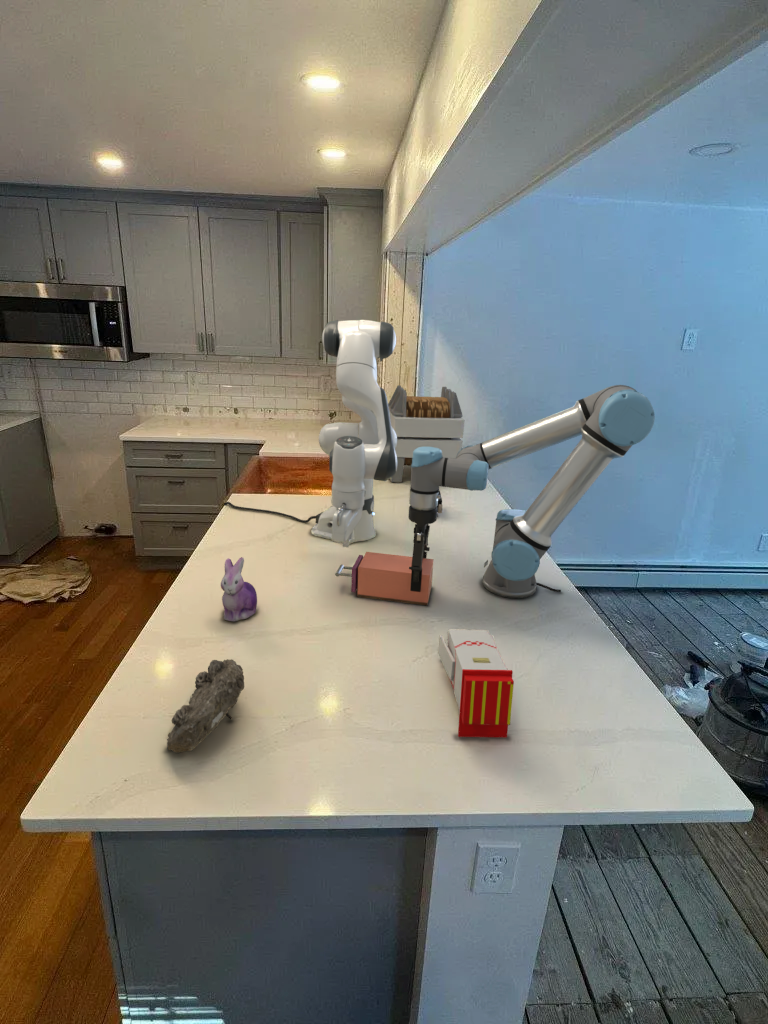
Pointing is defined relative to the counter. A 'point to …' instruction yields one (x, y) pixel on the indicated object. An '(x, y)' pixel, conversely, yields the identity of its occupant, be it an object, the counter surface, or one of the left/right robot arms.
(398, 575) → the cabinet
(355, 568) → the drawer
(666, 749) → the counter surface
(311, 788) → the counter surface
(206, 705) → the fossil
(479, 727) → the toy
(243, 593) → the figurine
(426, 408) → the transformer
